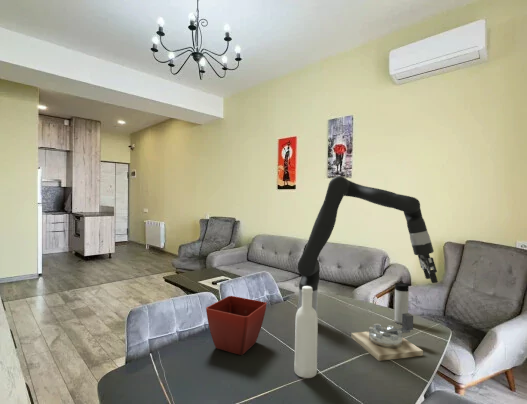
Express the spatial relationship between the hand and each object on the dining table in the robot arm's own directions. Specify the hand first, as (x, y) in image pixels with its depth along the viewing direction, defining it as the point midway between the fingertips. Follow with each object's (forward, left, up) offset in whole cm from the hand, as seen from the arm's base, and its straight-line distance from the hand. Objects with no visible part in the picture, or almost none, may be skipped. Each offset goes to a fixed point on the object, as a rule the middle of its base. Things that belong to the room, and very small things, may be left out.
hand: (431, 280), depth 124 cm
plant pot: (-79, +18, -29) cm, 86 cm away
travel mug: (+7, +26, -29) cm, 39 cm away
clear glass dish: (-15, +5, -26) cm, 30 cm away
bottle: (-58, -6, -29) cm, 65 cm away
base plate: (-18, +5, -28) cm, 34 cm away
